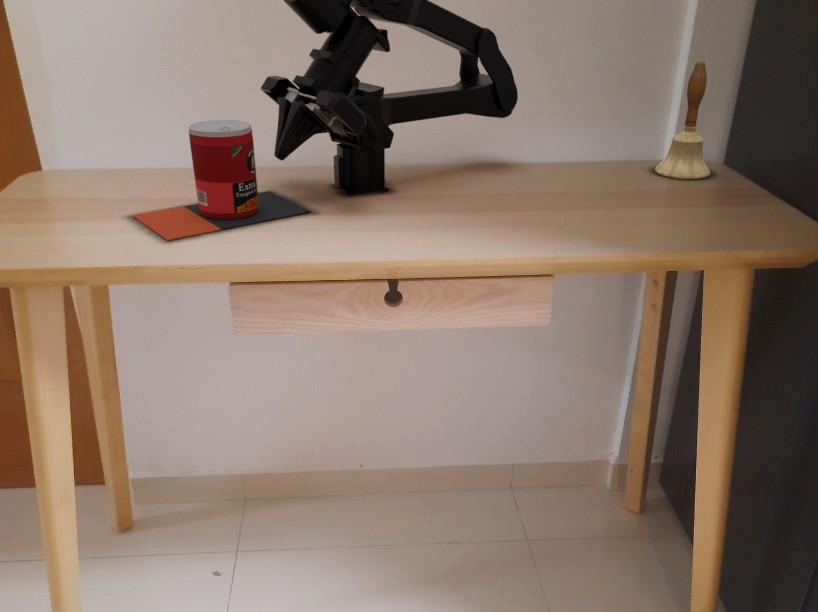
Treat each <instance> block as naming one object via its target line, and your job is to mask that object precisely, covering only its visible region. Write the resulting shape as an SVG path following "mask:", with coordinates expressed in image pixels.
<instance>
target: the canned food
mask: <svg viewBox="0 0 818 612" xmlns="http://www.w3.org/2000/svg"><path fill="white" fill-rule="evenodd" d="M188 136H189V146H190V154H191V161H192V167H193V175H194V182H195V191H196V197H197V204H198V206H199V209H200V211H201V213H202V215H204V216H206V217H208V218H212V219H220V220H231V219H240V218H245V217H249V216H252V215H253V214H255V213H256V212H257V210H258V205H259V202H258V193H259V191H258V180H257V169H256V157H255V156H256V155H255V145H254V135H253V128H252V124H251V123H250V122H246V121H243V120H237V119H210V120H202V121H198V122H195V123H192V124H190V125H188Z"/></svg>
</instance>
